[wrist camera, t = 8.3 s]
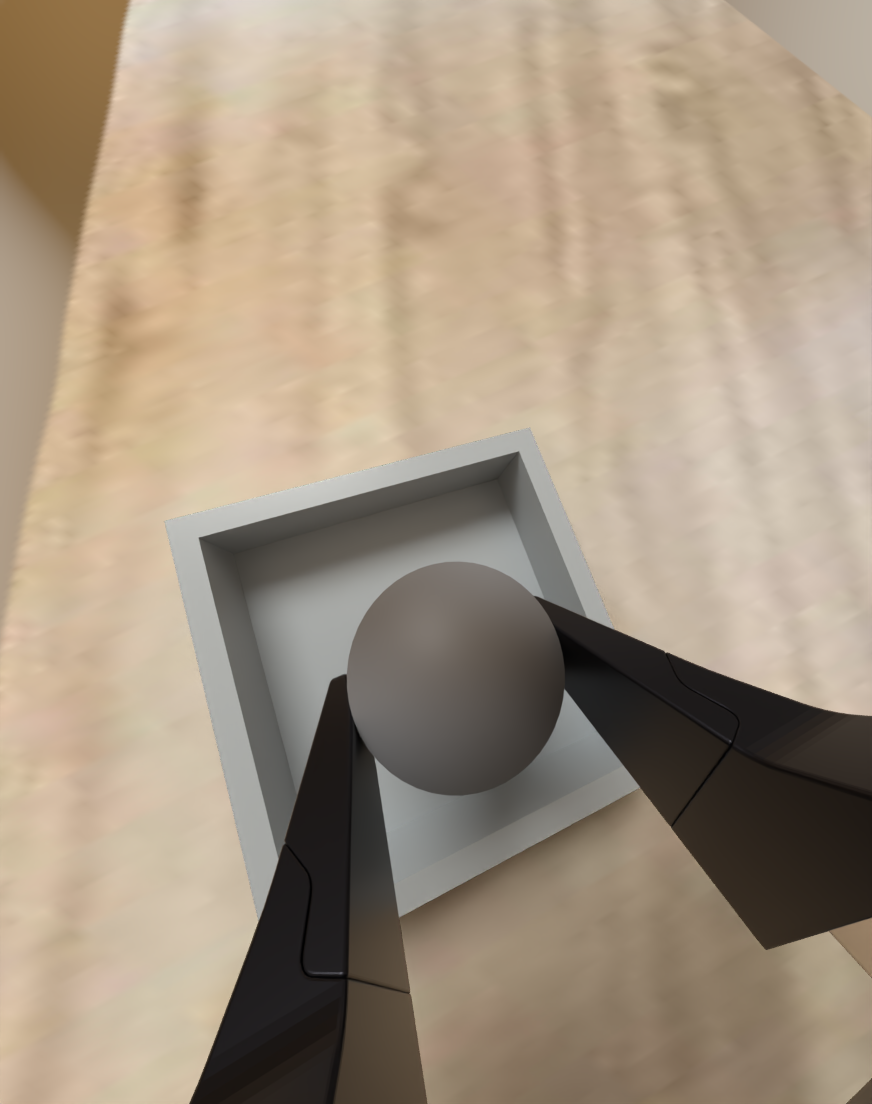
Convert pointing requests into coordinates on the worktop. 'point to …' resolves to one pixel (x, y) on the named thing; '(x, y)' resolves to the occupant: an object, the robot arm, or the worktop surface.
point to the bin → (332, 621)
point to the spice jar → (455, 678)
